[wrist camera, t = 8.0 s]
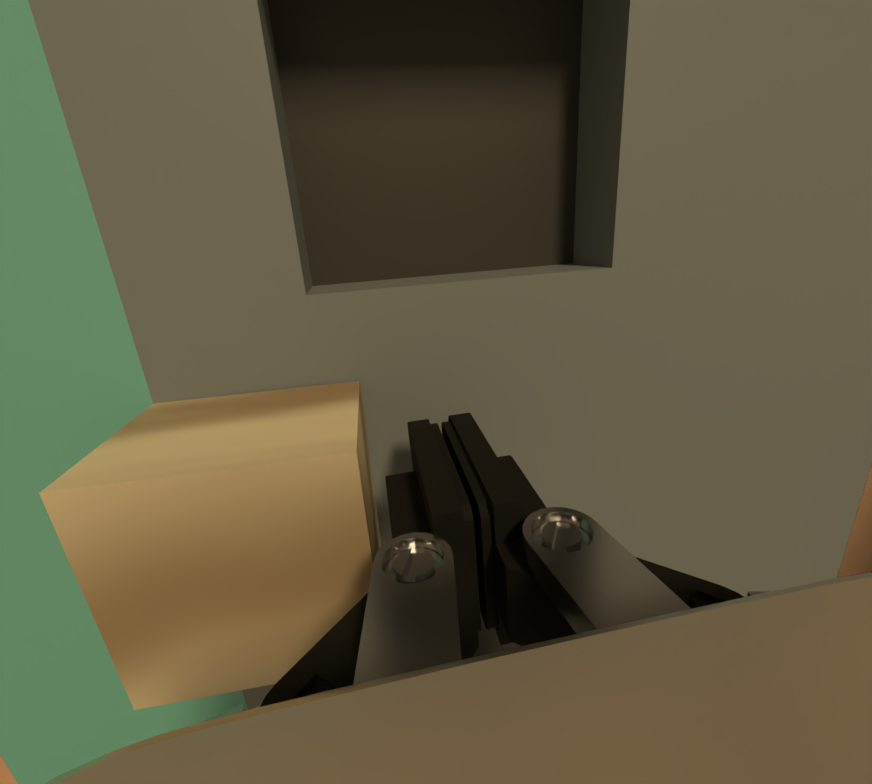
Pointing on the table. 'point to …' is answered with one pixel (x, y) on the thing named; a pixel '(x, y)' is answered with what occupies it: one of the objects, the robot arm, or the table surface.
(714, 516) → the board
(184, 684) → the block
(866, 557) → the table surface
